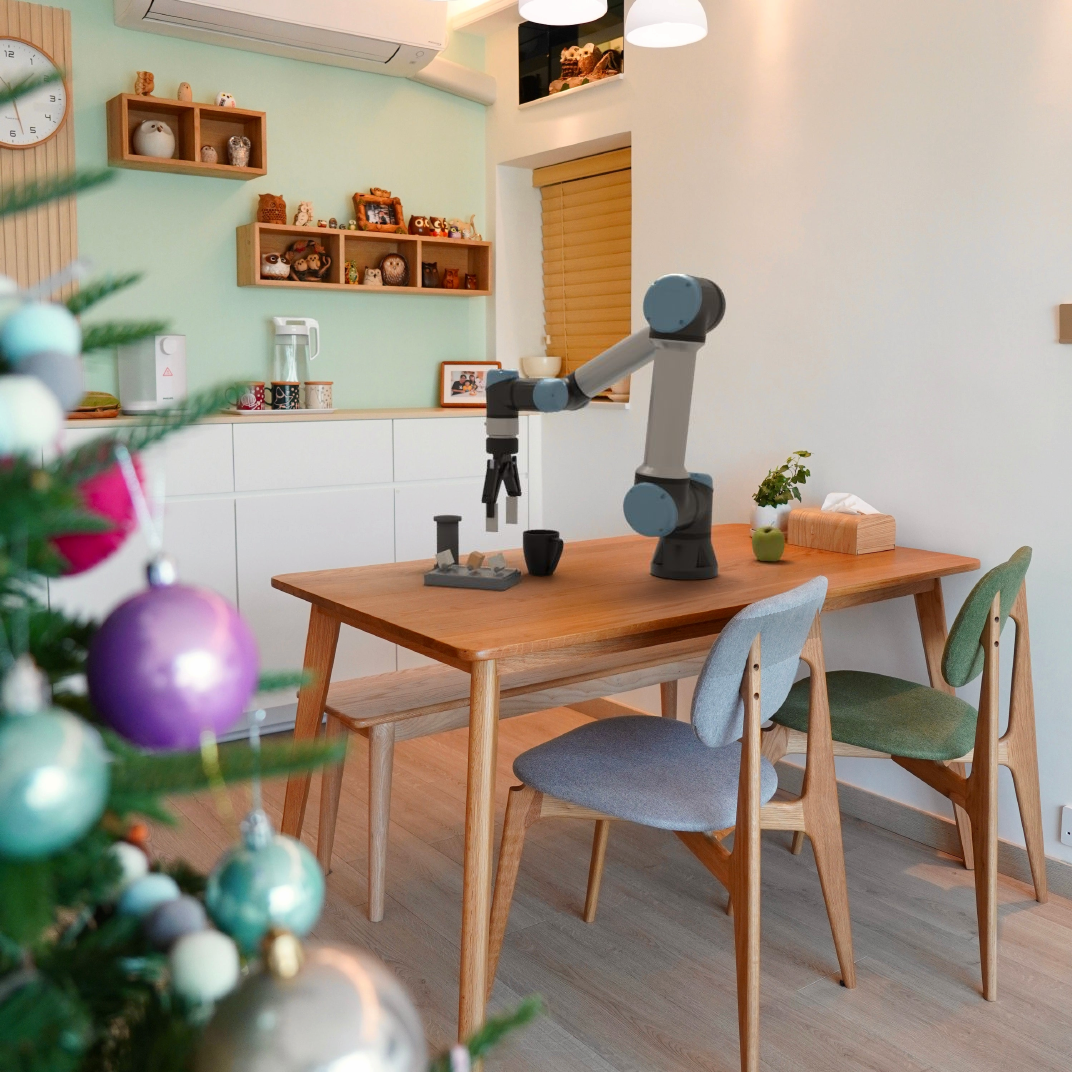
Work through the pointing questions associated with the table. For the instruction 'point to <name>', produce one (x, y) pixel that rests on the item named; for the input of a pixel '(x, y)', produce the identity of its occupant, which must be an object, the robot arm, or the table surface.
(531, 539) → the mug
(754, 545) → the apple
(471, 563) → the paddle mid
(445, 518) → the dark grey flanged cylinder
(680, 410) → the robot arm
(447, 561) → the paddle
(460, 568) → the breaker strip
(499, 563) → the paddle
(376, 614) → the table surface
